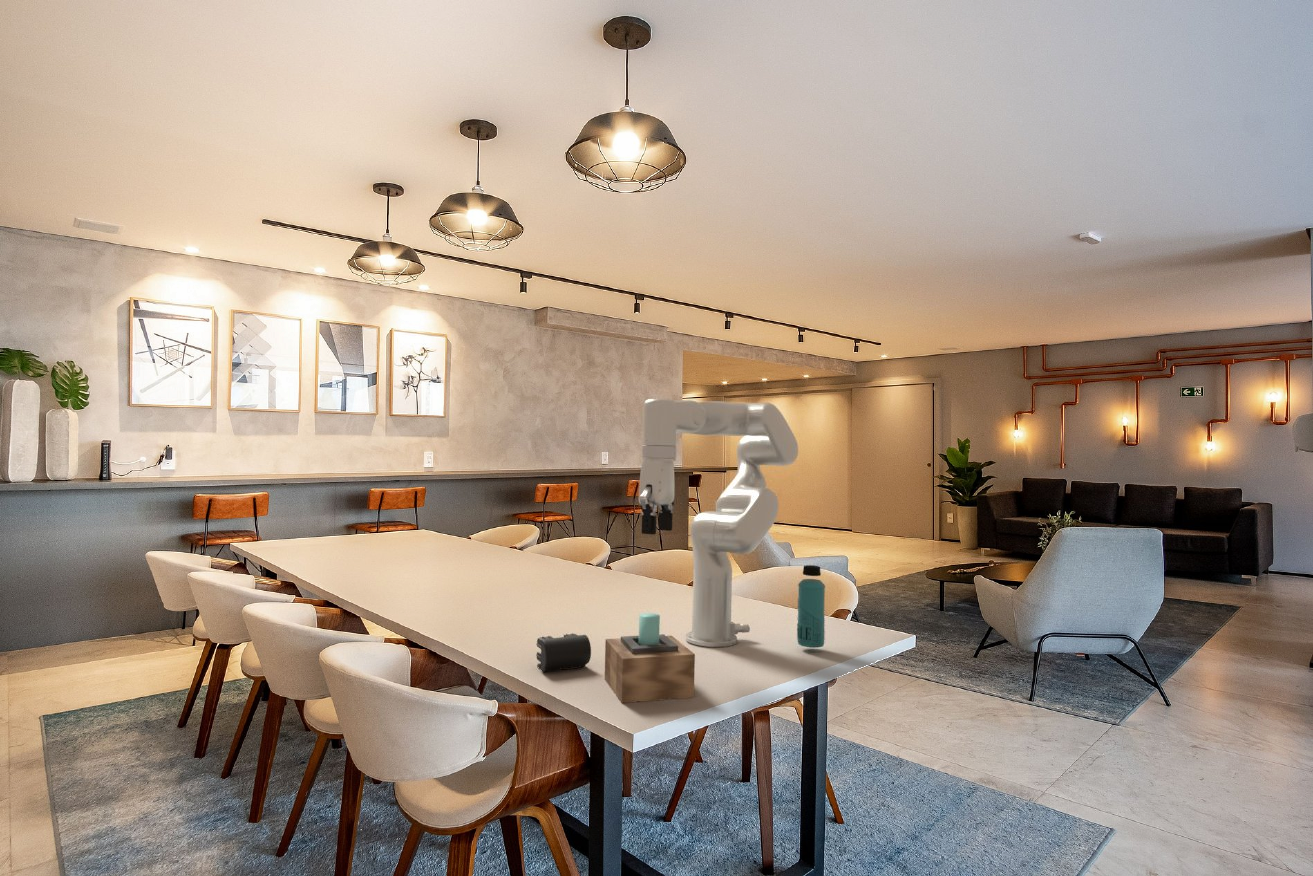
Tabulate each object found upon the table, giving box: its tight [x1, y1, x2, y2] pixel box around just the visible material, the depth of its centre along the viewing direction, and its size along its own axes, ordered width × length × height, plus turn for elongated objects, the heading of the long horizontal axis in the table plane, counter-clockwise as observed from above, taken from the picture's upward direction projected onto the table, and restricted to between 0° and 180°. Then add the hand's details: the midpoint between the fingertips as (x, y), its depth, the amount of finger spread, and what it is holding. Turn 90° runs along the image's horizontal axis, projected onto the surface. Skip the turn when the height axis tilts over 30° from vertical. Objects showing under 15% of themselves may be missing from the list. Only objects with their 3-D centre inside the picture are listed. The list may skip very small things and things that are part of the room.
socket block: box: [604, 633, 696, 704], centre depth 137 cm, size 14×14×9 cm
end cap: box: [535, 633, 592, 673], centre depth 149 cm, size 10×7×7 cm
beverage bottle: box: [796, 564, 826, 649], centre depth 167 cm, size 6×7×20 cm
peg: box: [638, 612, 661, 646], centre depth 138 cm, size 4×4×9 cm
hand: (657, 531), depth 157 cm, fingers open, 8 cm apart
